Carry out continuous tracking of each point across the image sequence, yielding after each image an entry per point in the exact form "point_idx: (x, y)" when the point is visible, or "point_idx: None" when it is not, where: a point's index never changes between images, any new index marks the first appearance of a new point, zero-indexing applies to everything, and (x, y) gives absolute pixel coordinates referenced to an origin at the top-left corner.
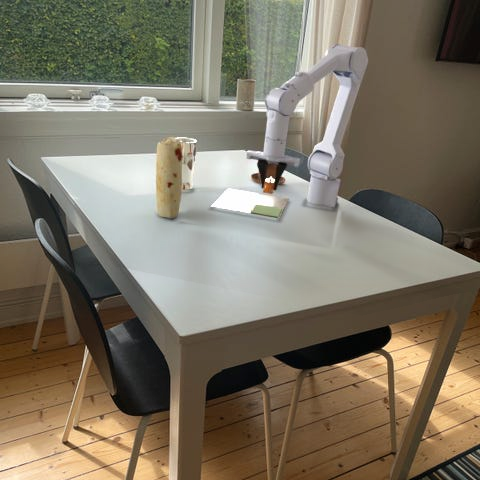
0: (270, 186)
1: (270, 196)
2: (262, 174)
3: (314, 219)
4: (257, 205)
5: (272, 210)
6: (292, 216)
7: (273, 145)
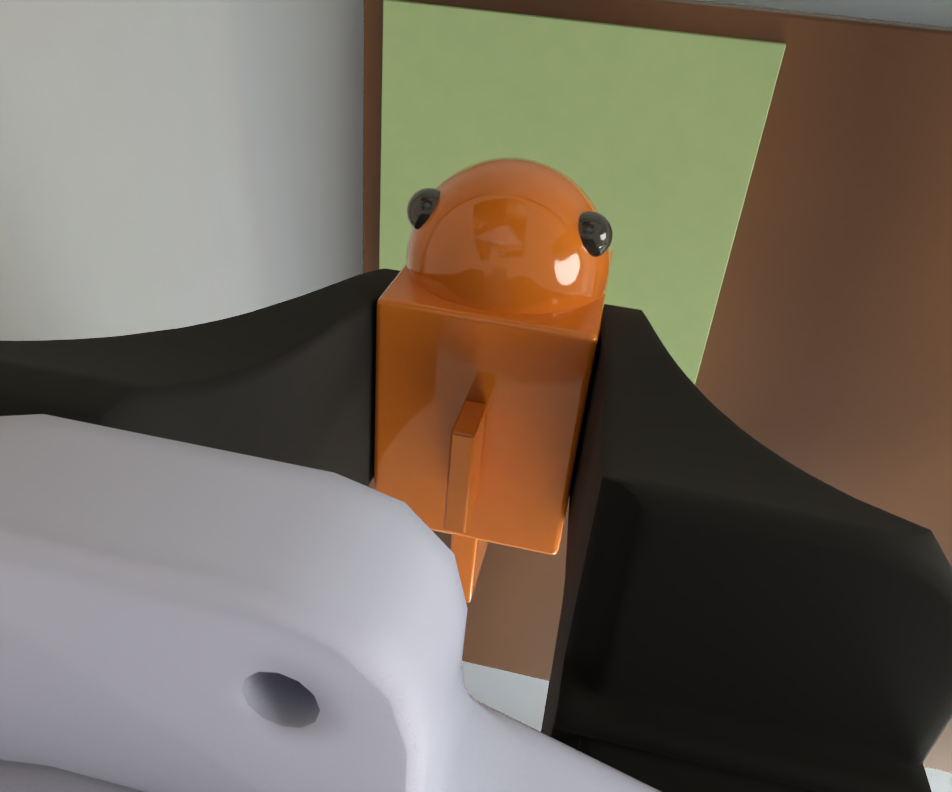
0: (453, 201)
1: (535, 655)
2: (663, 406)
3: (54, 230)
4: (670, 351)
5: None
6: (266, 239)
7: None
